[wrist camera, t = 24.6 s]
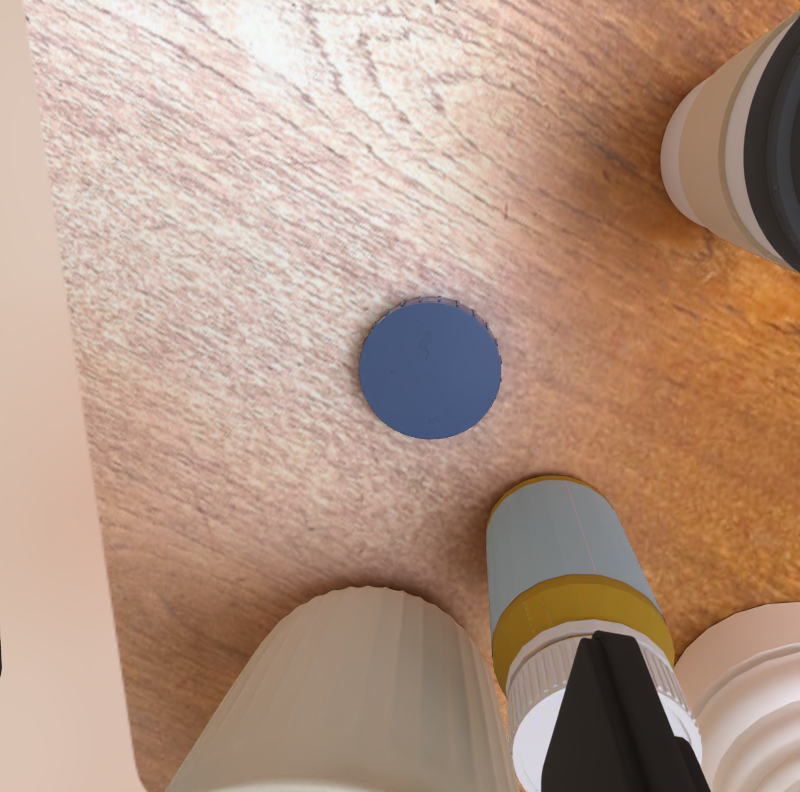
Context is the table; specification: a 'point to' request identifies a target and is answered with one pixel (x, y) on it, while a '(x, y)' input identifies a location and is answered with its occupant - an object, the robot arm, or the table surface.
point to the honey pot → (747, 699)
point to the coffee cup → (743, 149)
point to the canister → (357, 706)
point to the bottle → (566, 608)
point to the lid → (430, 368)
